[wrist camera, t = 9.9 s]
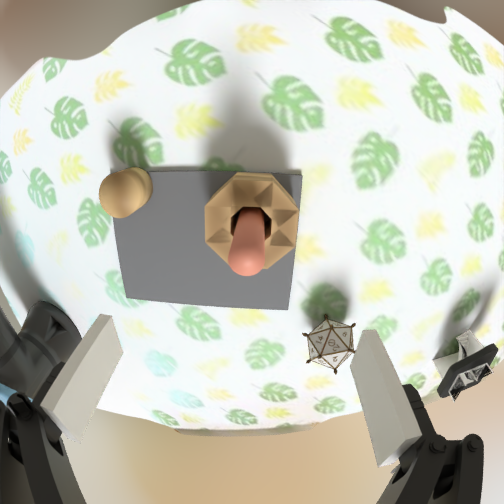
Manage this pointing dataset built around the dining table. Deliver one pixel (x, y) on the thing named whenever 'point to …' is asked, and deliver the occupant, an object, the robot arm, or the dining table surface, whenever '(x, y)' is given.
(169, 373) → the dining table surface
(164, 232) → the mat
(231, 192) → the bead
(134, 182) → the loose tan rounded knob
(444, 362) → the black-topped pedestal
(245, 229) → the pink rounded cylinder
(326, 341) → the game die
